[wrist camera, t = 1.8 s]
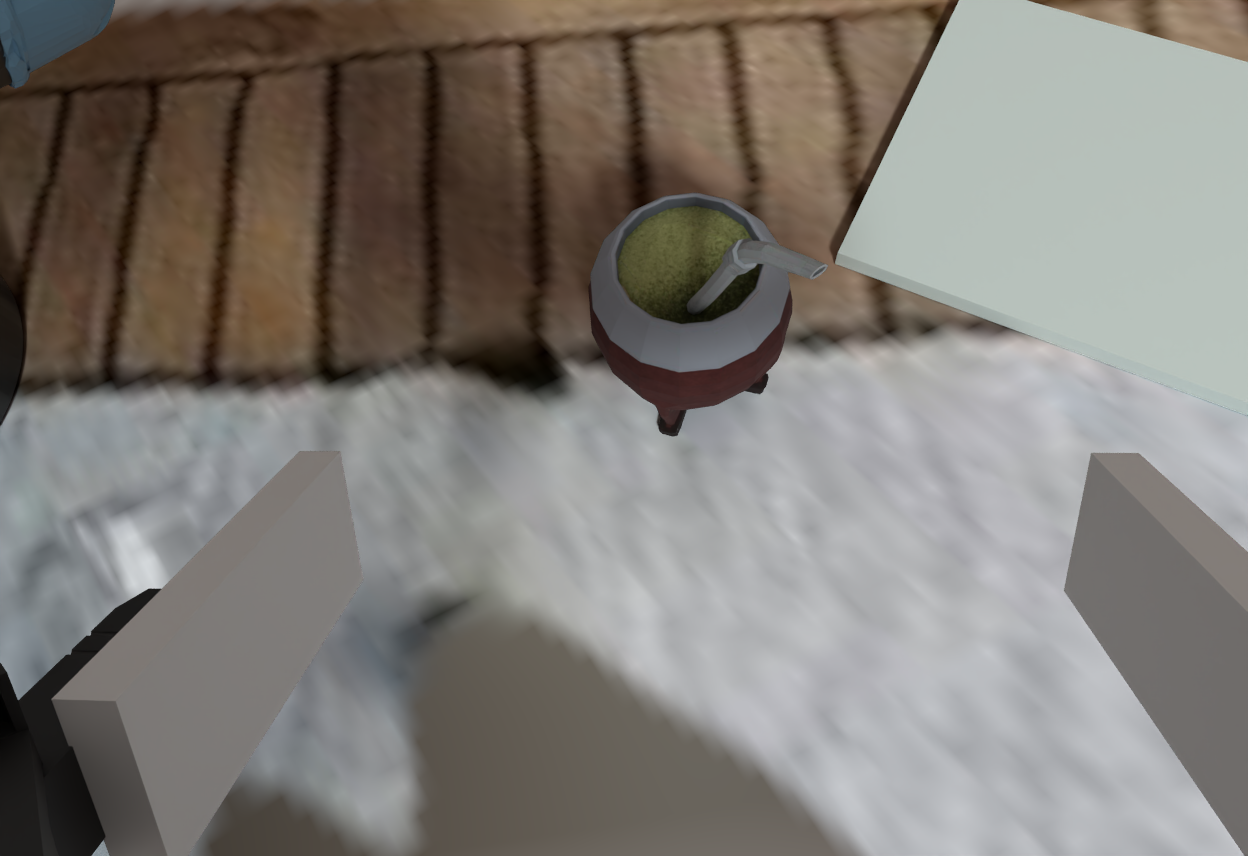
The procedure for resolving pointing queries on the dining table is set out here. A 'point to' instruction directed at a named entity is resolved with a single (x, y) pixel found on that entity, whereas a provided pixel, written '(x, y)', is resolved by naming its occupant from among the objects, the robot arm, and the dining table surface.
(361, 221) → the dining table surface
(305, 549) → the robot arm
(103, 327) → the dining table surface
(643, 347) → the mate gourd
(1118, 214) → the sage tile
